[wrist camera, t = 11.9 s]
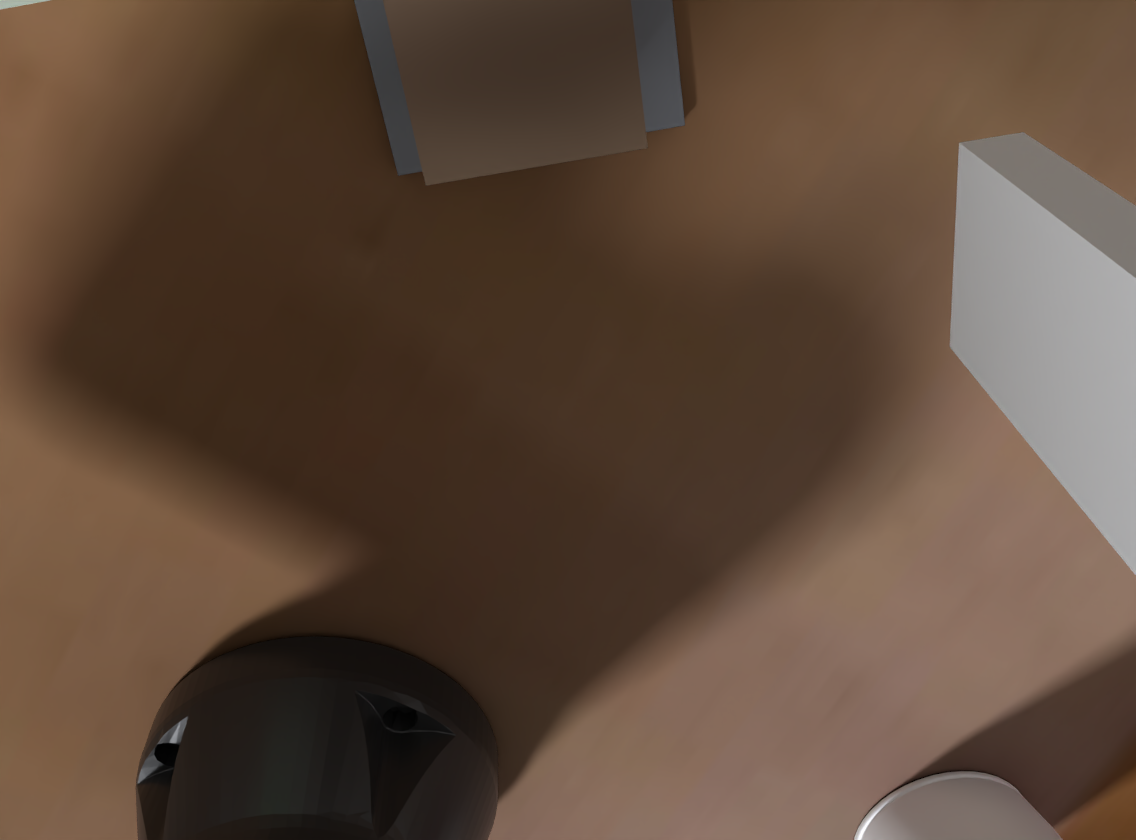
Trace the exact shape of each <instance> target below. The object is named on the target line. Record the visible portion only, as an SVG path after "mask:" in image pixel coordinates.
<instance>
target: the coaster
mask: <svg viewBox="0 0 1136 840" xmlns="http://www.w3.org/2000/svg"><path fill="white" fill-rule="evenodd" d="M354 2H355V6H356V10H357V14H358V18H359V22H360V26H361V30H362V34H363V38H364V42H365V46H366V50H367V54H368V58H369V62H370V66H371V70H372V74H373V78H374V82H375V86H376V89H377V93H378V97H379V101H380V105H381V109H382V113H383V117H384V121H385V125H386V129H387V133H388V137H389V141H390V145H391V149H392V153H393V157H394V161H395V165H396V169H397V173H398V176H399V175H405V174H410V173H416V172H422V167H421V163H420V159H419V154H418V150H417V146H416V141H415V137H414V133H413V128H412V124H411V120H410V116H409V111H408V107H407V103H406V98H405V94H404V90H403V85H402V81H401V77H400V72H399V68H398V64H397V59H396V55H395V51H394V47H393V42H392V38H391V34H390V29H389V25H388V21H387V16H386V12H385V8H384V3H383V0H354ZM631 6H632V15H633V24H634V32H635V41H636V50H637V58H638V67H639V76H640V84H641V93H642V102H643V110H644V119H645V128H646V132H650V131H656V130H661V129H667V128H673V127H679V126H684V125H685V121H684V111H683V101H682V91H681V82H680V72H679V62H678V52H677V42H676V32H675V22H674V13H673V3H672V0H631Z"/></svg>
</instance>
